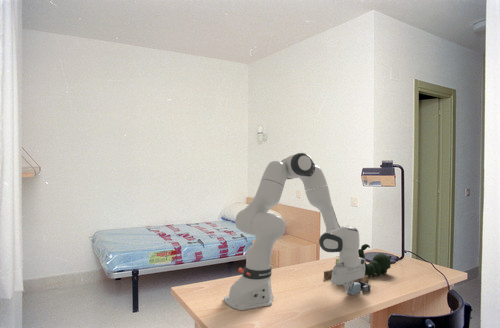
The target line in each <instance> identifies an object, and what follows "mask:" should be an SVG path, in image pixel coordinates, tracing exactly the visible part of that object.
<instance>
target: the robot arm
mask: <svg viewBox="0 0 500 328" xmlns="http://www.w3.org/2000/svg"><path fill="white" fill-rule="evenodd" d="M298 178H299V180H300V181H301V182H302V184H303V186H304V187H303V188H304V190H305V191H304V192H305V195H306V198H307V200H308V202H309V204H310V205H311V206H313V207H315V208H316V209H317V210H319V212H320V213H321V216H322V218H323V223H324V225H325V232H323V233H322V234H321V235H320V237H319V238H318V244H319V247H320V248H321V249H322V250H323V251H324V252H326V253H338V256H339V264H336V263H335V265H334V266H333V267H332V269H333V271H332V277H331V278H330V279H331V284H333V285H335V286H340V285H343V286H344V291H346V292H347V291H349V290H351V288H352V285H353V281H354V280H357V279H360V278H363V277H364V276H365V263H366V264H367V261H366V258H365V259H363V258H360V257H359V253H358V250H359V249H360V233H359V229H358V228H356V227H354V226H351V225H346V224H345V225H342V226H341V225H340V224H339V221H338V219H337V215H336V212H335V210H334V207H333V204H332V200H331V194H330V189H329V185H328V182H327V179H326V176H325V173H324V172H323V169H322V168H321V167H320V166H318V165H316V164H315V163H314V160H313V159H312V157H311V156H310V155H308V154H307V153H305V152H297V153H296V154H292V155H289V156H287V157H286V158H283V159H281V161H279V160H273V161H270V162H269V163H268V164H267V166H266V167H265V169H264V171H263V174H262V176H261V179H260V182H259V185H258V188H257V190H256V193H255V196H254V197H253V198H252V200H251V201H250V203H249V204H248V205H247V206H246V207H245V208H243V209H241V210H240V211H238V213H236V216H235V220H234V221H235V222H234V223H235V227H236V228H237V230H239V231H241V232H243V233H245V234H247V235H251V236H255V239H254V243H253V244H251V245H249V246H248V247H247V249H246V253H245V254H246V258H245V259H246V260H245V261H246V263H245V266H244V268H242V267H239V268H238V271H237V272H239V273H241V274H242V275H241V276H240V277H238V279H237V280H236V281H234V283H233V284H231V286H230V288H229V292H228V293H229V294H228V295H226V296H224V297H223V301H224V303H225V304H226V305H227V306H229V307H230V308H233V309H234V310H238V311H244V310H245V311H246V310H252V309H256V308H257V309H258V308H262V307H268V306H271V305H273V301H274V294H273V291H272V290H273V289H272V282H271V281H272V279H271V278H272V277H271V276H272V266H271V265H272V251H273V248H274V246H275V244H276V242H277V241H278V240H279V239H281V237H282V236H283V235H284V234H285V231H286V222H285V220H284V218H283V217H281V216H279V215H277V214H274V213H272V212H271V213H270V212H269V211H270V210H271V209H272V208H273V207H275V206H277V205H279V203H280V201H281V197H282V194H283V191H284V188H285V185H286V181H287V180H293V179H298Z"/></svg>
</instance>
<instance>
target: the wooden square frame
mask: <svg viewBox="0 0 500 328" xmlns="http://www.w3.org/2000/svg"><path fill="white" fill-rule="evenodd" d="M332 271H333V268H332V269H329V270H324V271H323V280H328V279H331V277H332ZM359 281H361V282H364V283H366V284H369V275H368V276H367V275H365V276H364V277H363V278H360V279H357V280H354V281H353V283H354V282H359Z"/></svg>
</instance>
